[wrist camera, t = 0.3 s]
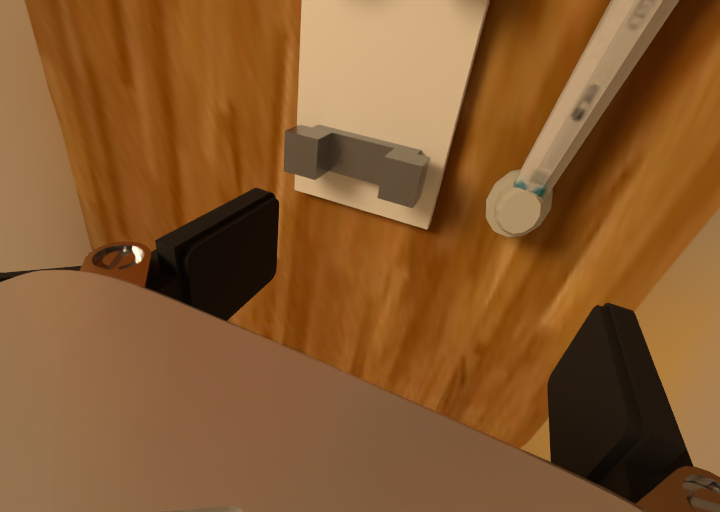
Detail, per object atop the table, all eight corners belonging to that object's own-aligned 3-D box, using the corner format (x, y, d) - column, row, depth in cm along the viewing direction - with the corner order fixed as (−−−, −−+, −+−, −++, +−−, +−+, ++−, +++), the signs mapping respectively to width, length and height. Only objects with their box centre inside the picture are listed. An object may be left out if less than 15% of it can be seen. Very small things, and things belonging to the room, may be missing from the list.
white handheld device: (782, -121, 20) (529, 262, 32) (719, -71, 26) (525, 237, 38) (682, -148, 21) (471, 235, 33) (643, -95, 27) (476, 214, 38)
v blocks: (320, -115, 29) (290, -135, 26) (495, -102, 26) (489, -123, 23) (305, 159, 42) (284, 171, 38) (424, 191, 38) (413, 208, 35)
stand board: (318, -182, 29) (309, -191, 28) (536, -176, 25) (536, -186, 24) (300, 185, 45) (294, 189, 44) (430, 223, 41) (427, 229, 40)
